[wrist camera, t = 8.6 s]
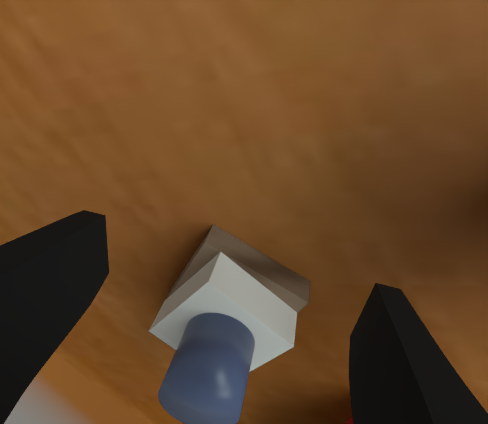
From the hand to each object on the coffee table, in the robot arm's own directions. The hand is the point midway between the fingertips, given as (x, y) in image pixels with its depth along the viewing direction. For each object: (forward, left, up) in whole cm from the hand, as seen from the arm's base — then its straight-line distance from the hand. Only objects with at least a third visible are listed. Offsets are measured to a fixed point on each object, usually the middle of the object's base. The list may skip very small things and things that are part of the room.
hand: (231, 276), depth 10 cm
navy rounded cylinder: (-3, +10, -6) cm, 12 cm away
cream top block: (-3, +10, -9) cm, 14 cm away
